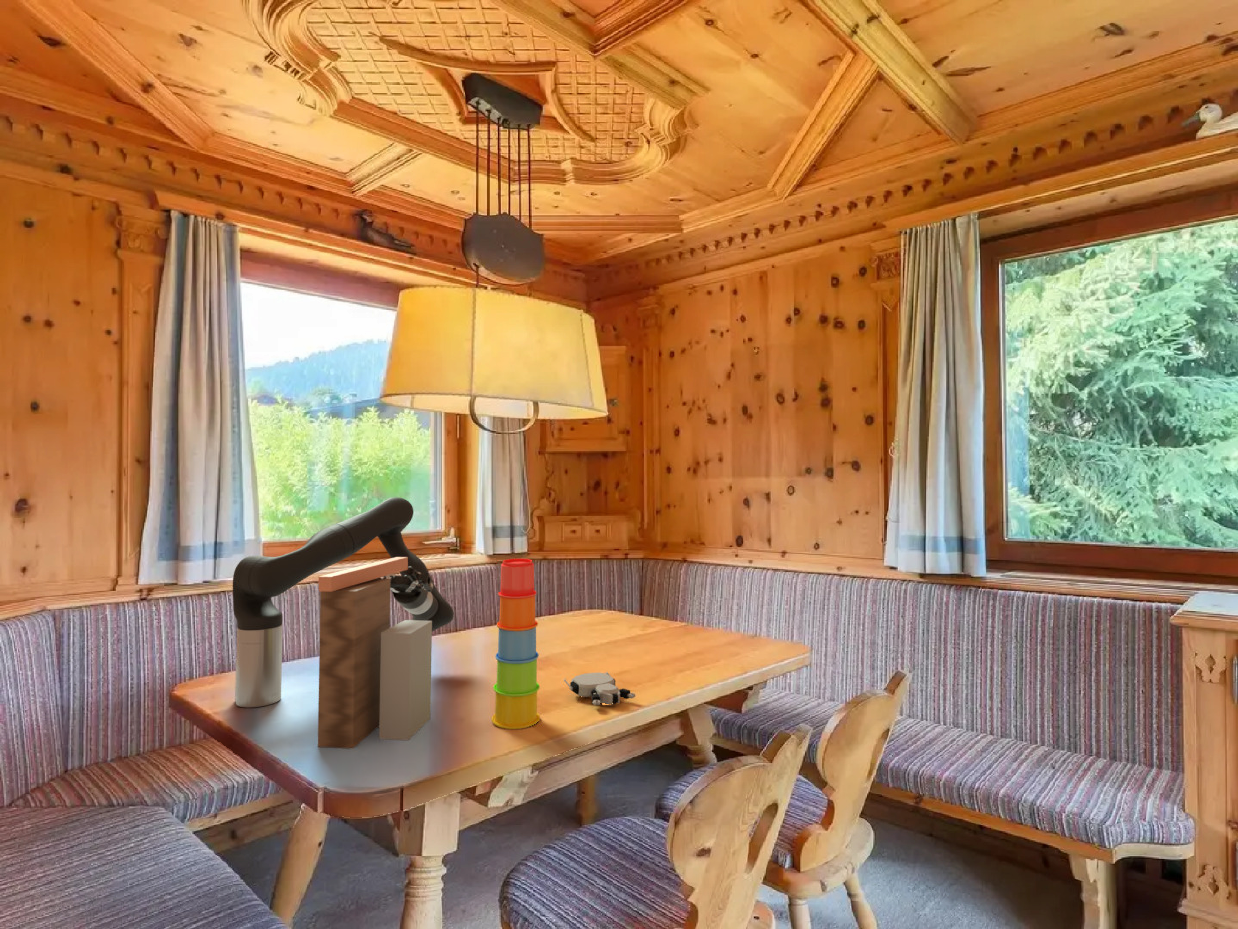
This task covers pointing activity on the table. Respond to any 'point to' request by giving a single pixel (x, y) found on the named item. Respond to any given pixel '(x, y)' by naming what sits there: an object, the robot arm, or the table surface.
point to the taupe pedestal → (405, 679)
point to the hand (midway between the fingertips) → (390, 570)
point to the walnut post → (351, 661)
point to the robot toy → (598, 688)
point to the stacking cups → (516, 648)
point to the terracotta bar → (362, 574)
